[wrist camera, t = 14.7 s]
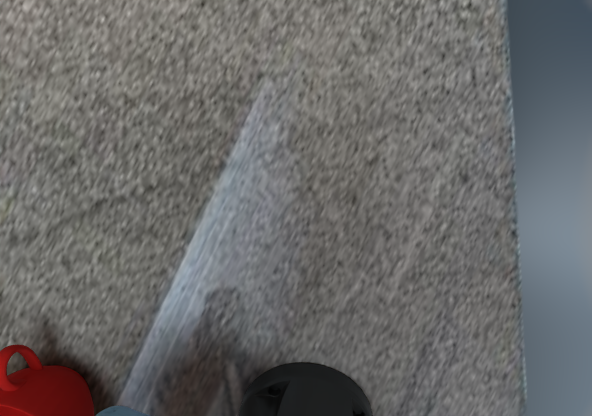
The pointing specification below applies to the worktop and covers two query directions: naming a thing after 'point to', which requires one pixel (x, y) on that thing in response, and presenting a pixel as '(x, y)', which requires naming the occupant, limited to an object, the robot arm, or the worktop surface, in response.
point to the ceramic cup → (41, 388)
